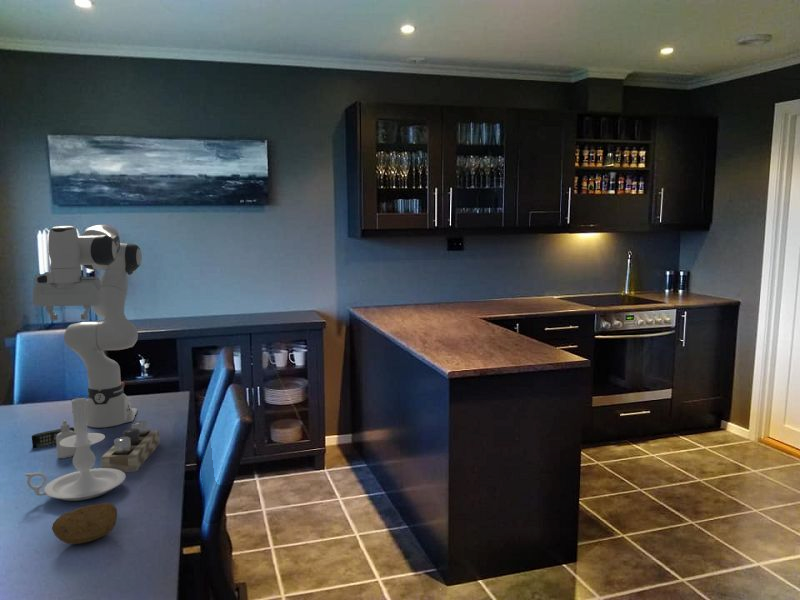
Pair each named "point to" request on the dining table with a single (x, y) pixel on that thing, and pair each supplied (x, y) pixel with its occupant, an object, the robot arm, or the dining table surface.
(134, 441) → the black knob middle
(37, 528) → the dining table surface
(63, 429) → the eye dropper bottle
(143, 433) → the steel knob
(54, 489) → the candlestick
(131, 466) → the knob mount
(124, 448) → the steel knob
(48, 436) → the mobile phone
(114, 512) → the potato
